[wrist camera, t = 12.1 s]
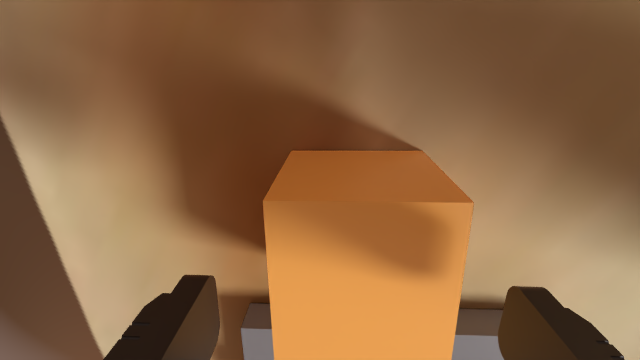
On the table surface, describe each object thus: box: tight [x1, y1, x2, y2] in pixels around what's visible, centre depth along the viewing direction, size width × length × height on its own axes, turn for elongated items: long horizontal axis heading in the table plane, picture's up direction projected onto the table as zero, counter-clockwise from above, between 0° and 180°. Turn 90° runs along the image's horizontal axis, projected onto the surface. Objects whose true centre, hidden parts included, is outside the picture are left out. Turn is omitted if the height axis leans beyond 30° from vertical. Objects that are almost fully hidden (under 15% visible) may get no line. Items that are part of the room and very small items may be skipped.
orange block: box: [263, 151, 474, 360], centre depth 14 cm, size 6×6×7 cm
